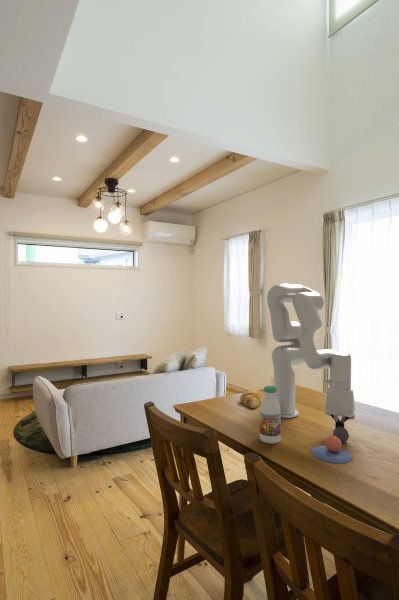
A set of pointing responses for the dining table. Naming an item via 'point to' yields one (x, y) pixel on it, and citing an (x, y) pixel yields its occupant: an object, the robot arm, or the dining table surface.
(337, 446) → the red ball
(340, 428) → the dark grey ball
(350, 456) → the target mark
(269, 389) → the milk bottle
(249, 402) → the croissant
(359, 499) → the dining table surface
